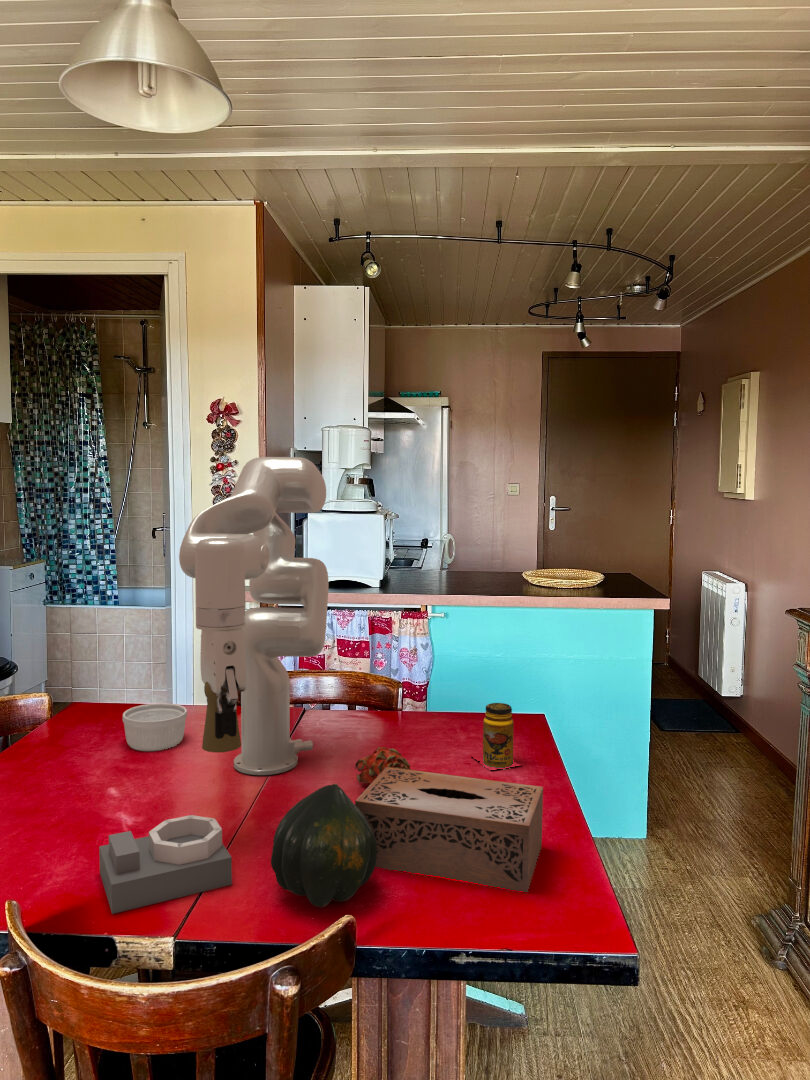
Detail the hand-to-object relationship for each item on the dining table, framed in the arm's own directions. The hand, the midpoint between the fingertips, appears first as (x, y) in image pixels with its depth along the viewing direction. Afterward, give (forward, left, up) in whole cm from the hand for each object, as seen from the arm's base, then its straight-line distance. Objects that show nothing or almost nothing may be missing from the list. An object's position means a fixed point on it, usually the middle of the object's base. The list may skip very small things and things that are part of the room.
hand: (221, 731), depth 122 cm
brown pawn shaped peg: (0, 0, -2) cm, 2 cm away
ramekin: (+1, -51, -18) cm, 54 cm away
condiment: (-58, -8, -18) cm, 61 cm away
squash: (-8, +21, -18) cm, 29 cm away
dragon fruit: (-31, -6, -18) cm, 36 cm away
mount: (+11, +8, -17) cm, 22 cm away
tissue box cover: (-29, +21, -18) cm, 40 cm away
